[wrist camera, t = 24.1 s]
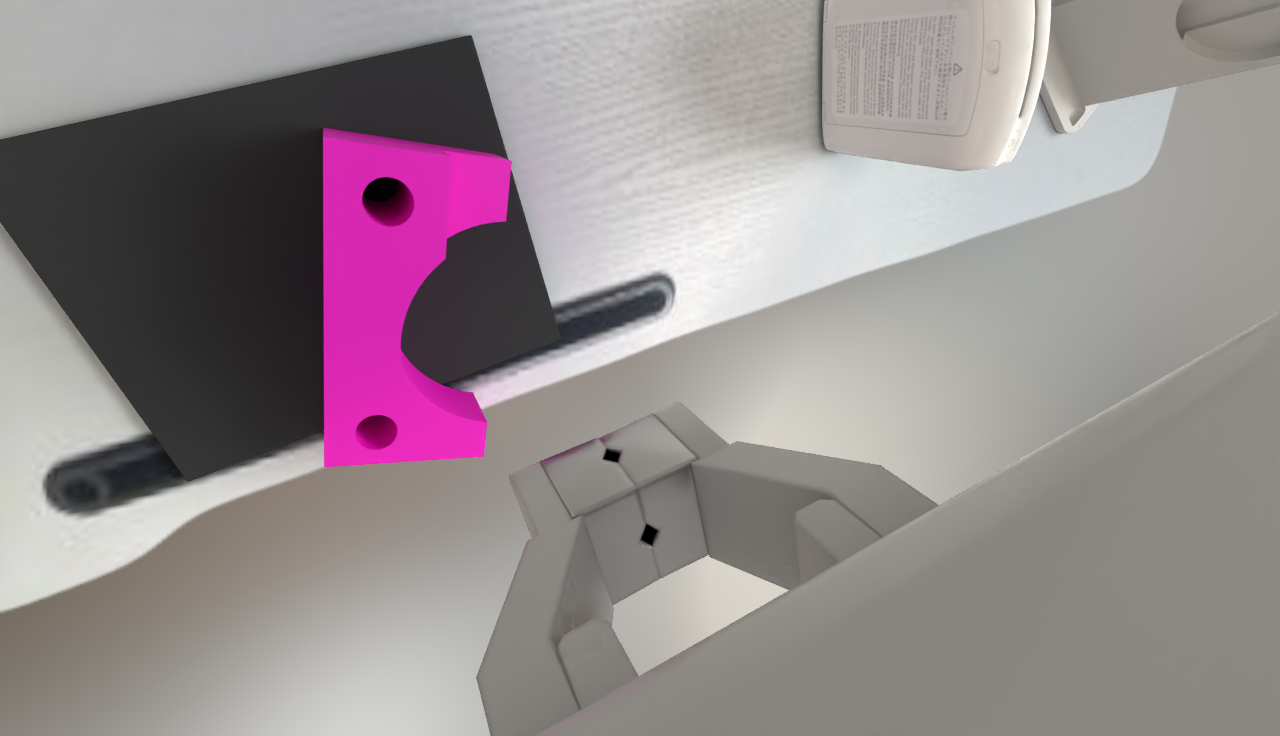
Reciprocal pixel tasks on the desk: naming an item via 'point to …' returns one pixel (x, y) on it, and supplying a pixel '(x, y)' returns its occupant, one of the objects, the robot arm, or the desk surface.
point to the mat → (258, 246)
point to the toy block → (394, 293)
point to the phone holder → (1149, 49)
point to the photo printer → (932, 79)
